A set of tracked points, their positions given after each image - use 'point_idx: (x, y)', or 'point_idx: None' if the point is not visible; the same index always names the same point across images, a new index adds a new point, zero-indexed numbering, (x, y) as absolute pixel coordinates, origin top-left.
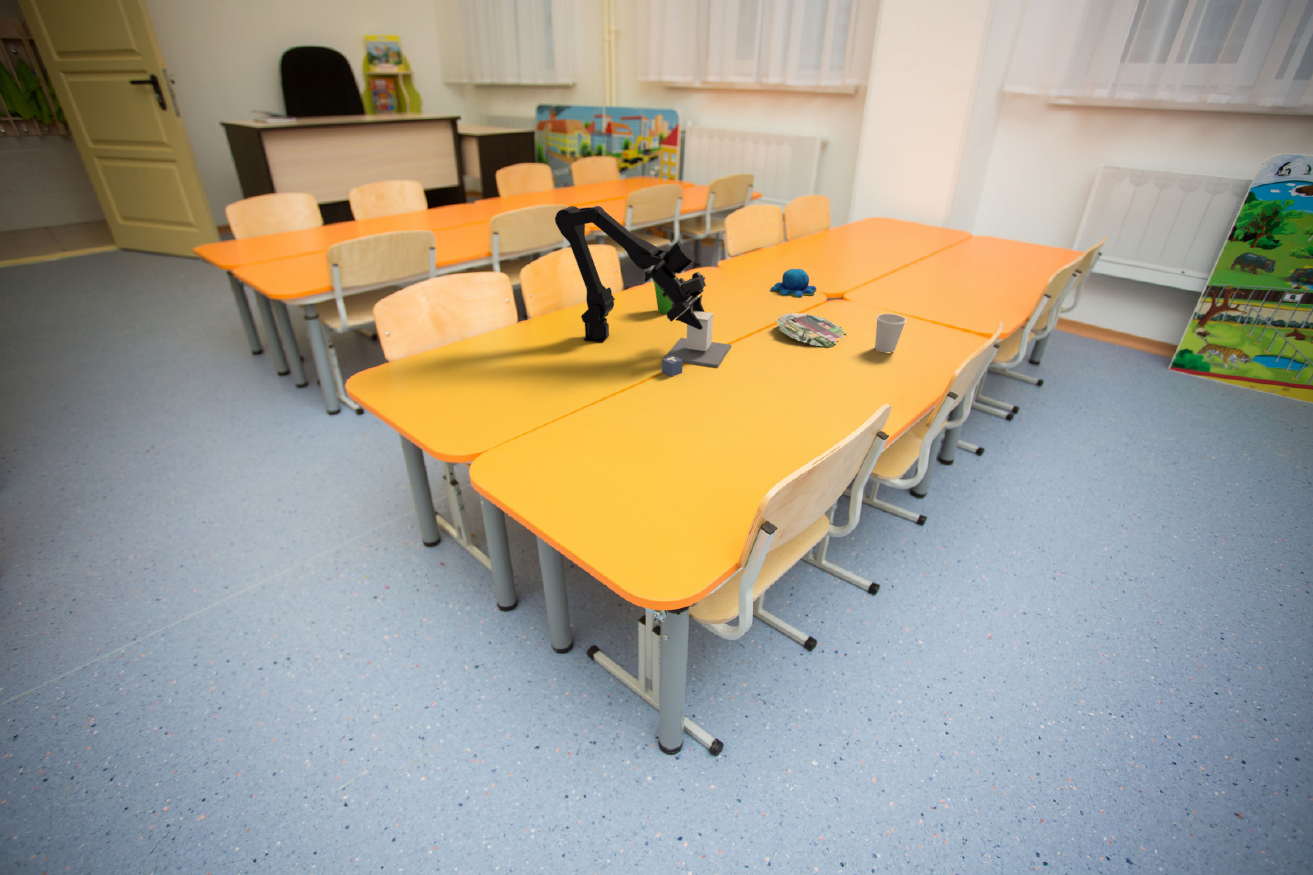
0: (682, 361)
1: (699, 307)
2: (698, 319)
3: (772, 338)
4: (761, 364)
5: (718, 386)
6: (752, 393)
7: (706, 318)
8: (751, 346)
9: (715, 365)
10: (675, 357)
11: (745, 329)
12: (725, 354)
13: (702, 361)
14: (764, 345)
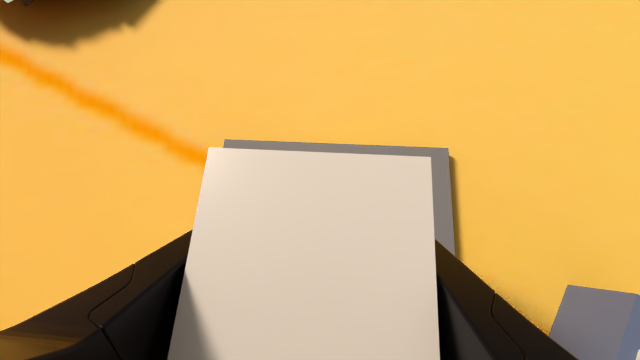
0: (626, 293)
1: (128, 328)
2: (432, 266)
3: (122, 31)
4: (357, 27)
5: (609, 119)
6: (596, 15)
7: (396, 178)
8: (206, 79)
9: (447, 160)
10: (629, 347)
11: (38, 125)
12: (323, 144)
13: (441, 216)
14: (190, 43)
